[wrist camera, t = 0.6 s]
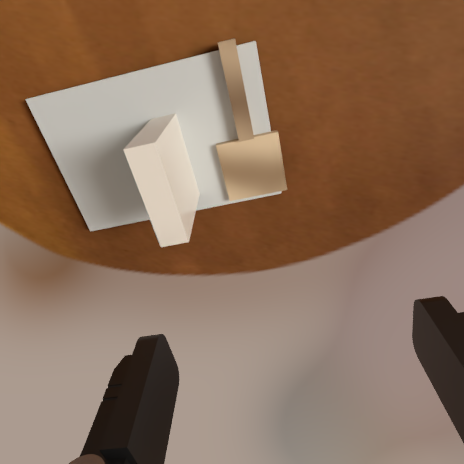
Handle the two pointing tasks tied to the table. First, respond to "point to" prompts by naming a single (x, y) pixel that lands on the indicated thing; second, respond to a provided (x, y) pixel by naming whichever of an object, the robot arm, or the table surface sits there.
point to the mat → (134, 120)
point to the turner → (247, 141)
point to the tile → (164, 179)
